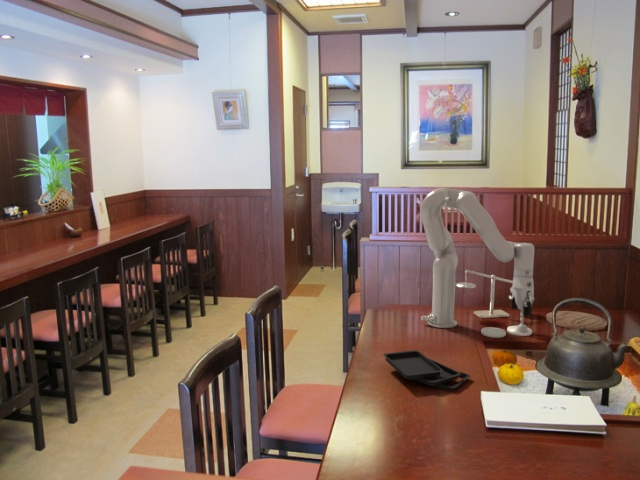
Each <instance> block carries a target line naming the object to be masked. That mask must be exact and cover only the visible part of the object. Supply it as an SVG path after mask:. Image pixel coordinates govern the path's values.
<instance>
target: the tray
mask: <svg viewBox="0 0 640 480" xmlns="http://www.w3.org/2000/svg"><path fill="white" fill-rule="evenodd" d="M383 357H385V362H387V364H389V365H390V366H391V367H392V368H393V369H394V370H395V371H396V372H397V373H399V374H400V375H401V376H402V377H403V378H405V379H406V380H410V381H414V382H418V383H421V384H425V385H426V386H430V387H435V388H437V389H442V390H445V391H449V392H454V391H455V390H456V389H457V388H459V387H460V386H462V385H463V384H464V383H465V382H467V381H468V379H469V378H471V374H469V373H466V372H462V371H458V370H455V369H452V368H451V367H448V366H447V365H444V364H442V363H440V362H437V361H436V360H433V359H432V358H430V357H427V356H426V355H424V354H423V353H422V352H421V351H419V350H418V349H417V350H415V349H413V350H404V351H395V352H387V353H384V354H383ZM458 378H462V379H461V380H460V381H458V382H457V383H455V384H454V385H451V386H450V385H446V383H448V382H451V381H455V380H457V379H458Z"/></svg>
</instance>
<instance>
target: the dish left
mask: <svg viewBox="0 0 640 480" xmlns="http://www.w3.org/2000/svg"><path fill="white" fill-rule="evenodd" d="M480 334H481V335H483V336H485V337H488V338H495V339H496V338H497V339H499V338H501V339H502V338H505V337H506V335H507V330H505V329H503V328H499V327H493V326H491V327H490V326H488V327H487V326H486V327H481V330H480Z"/></svg>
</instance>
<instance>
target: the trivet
mask: <svg viewBox="0 0 640 480" xmlns="http://www.w3.org/2000/svg"><path fill="white" fill-rule="evenodd" d="M556 311H557V313H556V325H557V326H559V327H558V328H560V327H565V328H571V329H577V328H578V327H579V326H585V328H586V329H587V330H597V329H603V328H605V327H606V326H607V327H608V321H607V320H606V319H605V318H603V317H601V316H598V315H596V314H595V315H594V314H591V313H586V312H581V311H574V310H573V311H572V310H571V311H570V310H556ZM552 312H553V311H551V312H548V313H547V314H546V315H545V321H546V322H547V323H548V324H550V325H552ZM557 326H556V327H557ZM607 327H606V328H607ZM606 328H605V329H606ZM603 330H604V329H603Z"/></svg>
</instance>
